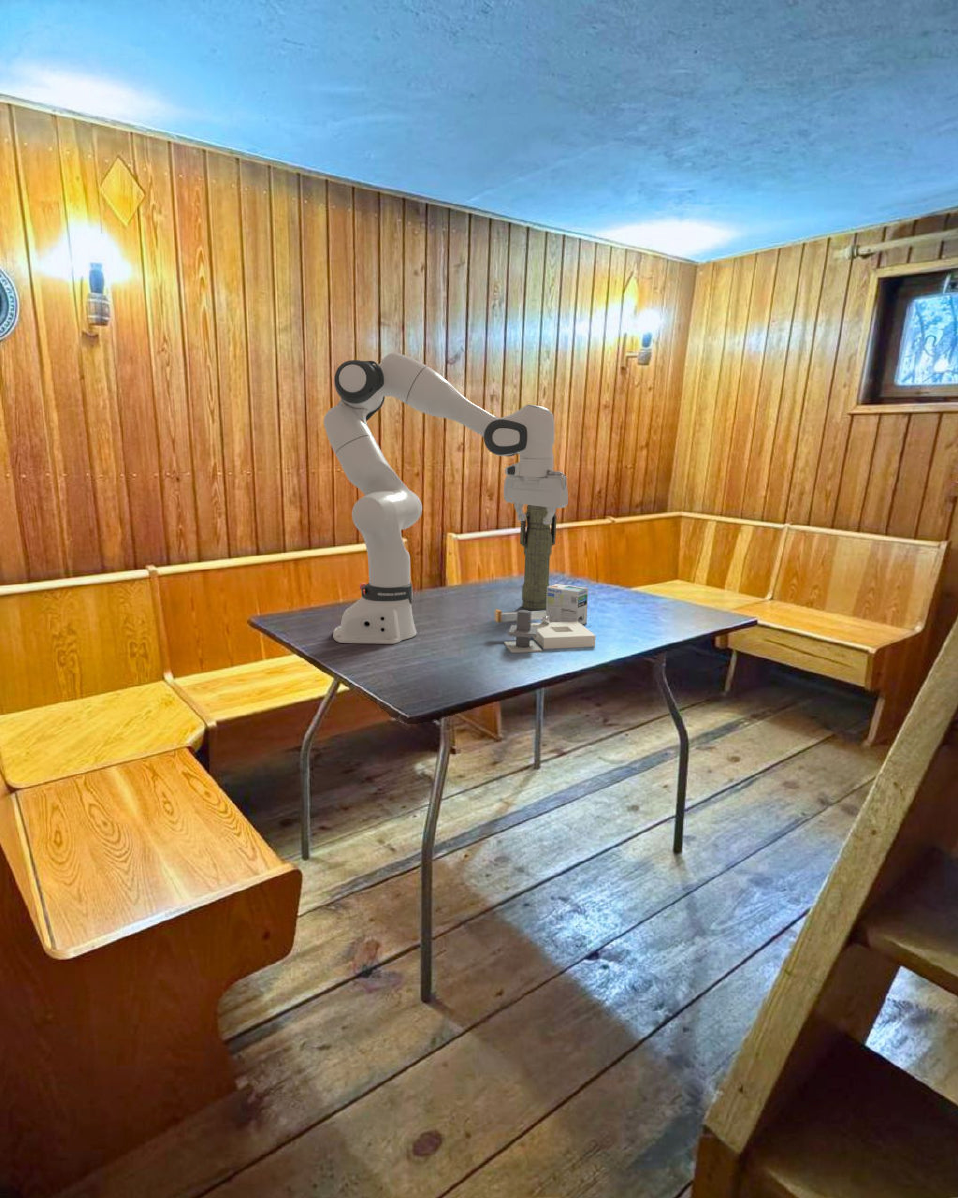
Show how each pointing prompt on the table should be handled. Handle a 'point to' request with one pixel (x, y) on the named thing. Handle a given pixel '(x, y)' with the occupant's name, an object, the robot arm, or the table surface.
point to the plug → (523, 629)
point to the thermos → (536, 556)
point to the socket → (563, 635)
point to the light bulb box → (567, 603)
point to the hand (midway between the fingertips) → (534, 522)
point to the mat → (515, 649)
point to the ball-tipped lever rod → (513, 616)
